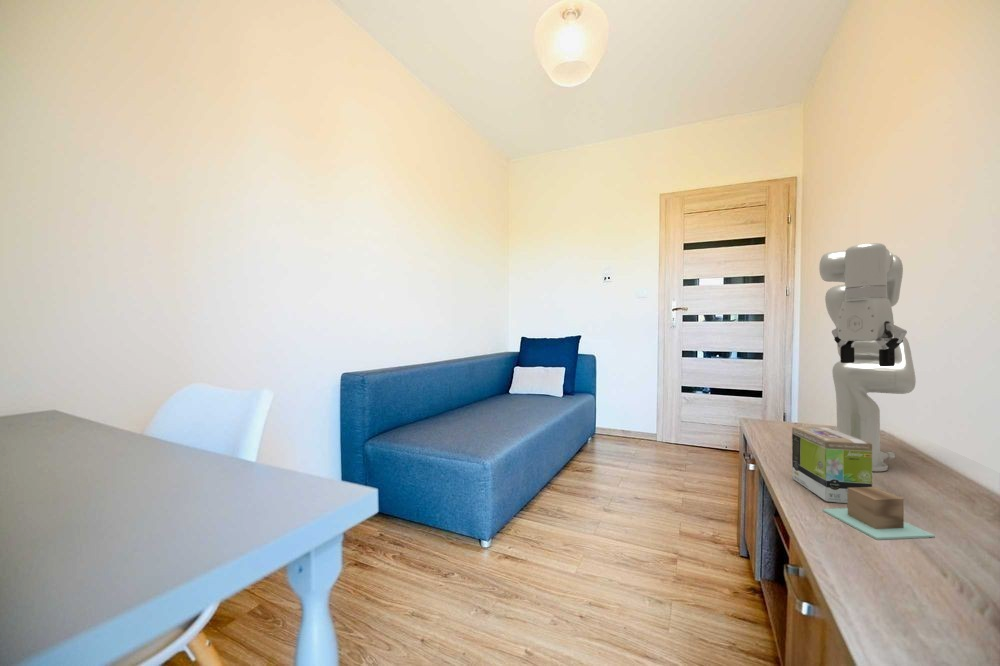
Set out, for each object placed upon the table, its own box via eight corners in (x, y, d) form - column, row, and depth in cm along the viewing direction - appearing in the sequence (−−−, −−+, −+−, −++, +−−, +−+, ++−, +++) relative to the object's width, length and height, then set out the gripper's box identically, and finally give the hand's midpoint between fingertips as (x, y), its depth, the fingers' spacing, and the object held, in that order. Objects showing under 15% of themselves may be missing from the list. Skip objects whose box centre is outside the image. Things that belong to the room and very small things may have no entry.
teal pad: (872, 509, 87) (872, 507, 87) (934, 537, 75) (934, 535, 75) (822, 510, 87) (822, 509, 87) (876, 539, 75) (876, 537, 75)
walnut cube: (873, 514, 84) (873, 486, 84) (903, 528, 78) (903, 498, 78) (847, 514, 84) (847, 487, 84) (875, 529, 78) (875, 499, 78)
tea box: (874, 506, 89) (874, 442, 89) (825, 502, 91) (824, 440, 91) (832, 481, 104) (832, 426, 104) (790, 478, 106) (790, 425, 106)
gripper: (820, 298, 103) (820, 361, 103) (888, 291, 86) (888, 368, 86) (846, 297, 103) (847, 361, 103) (920, 291, 86) (920, 367, 86)
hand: (866, 364), depth 94 cm, fingers open, 9 cm apart
